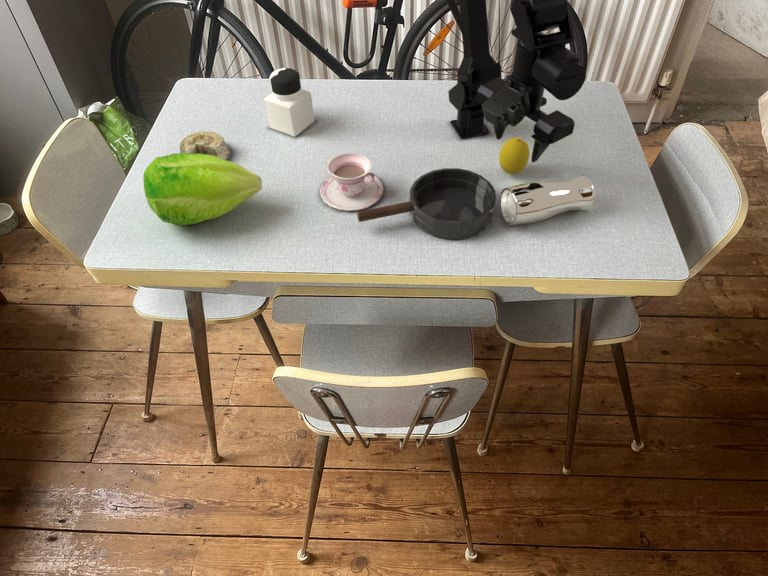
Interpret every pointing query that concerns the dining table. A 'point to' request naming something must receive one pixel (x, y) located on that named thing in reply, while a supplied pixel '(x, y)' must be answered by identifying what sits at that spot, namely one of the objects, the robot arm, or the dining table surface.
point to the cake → (205, 144)
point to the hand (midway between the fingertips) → (516, 149)
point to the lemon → (514, 155)
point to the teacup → (350, 183)
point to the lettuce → (196, 187)
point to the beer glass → (545, 199)
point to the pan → (452, 203)
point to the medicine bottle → (288, 103)
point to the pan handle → (385, 211)
